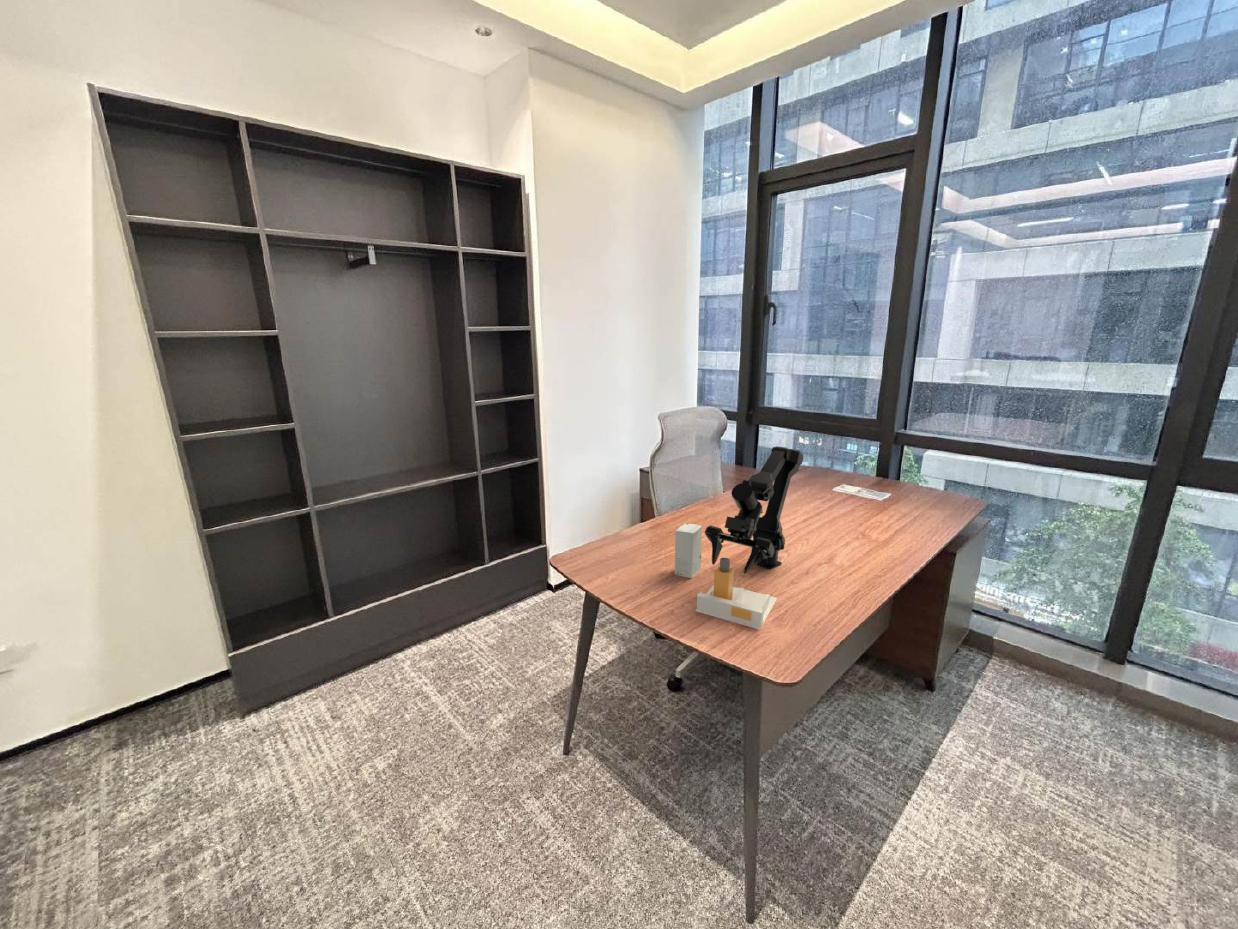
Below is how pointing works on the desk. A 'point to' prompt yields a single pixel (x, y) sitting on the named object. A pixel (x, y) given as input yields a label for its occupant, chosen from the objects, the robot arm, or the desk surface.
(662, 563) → the desk surface
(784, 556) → the desk surface
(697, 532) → the skincare box
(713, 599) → the white ribbed tray
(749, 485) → the robot arm
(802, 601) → the desk surface
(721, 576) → the orange plug
